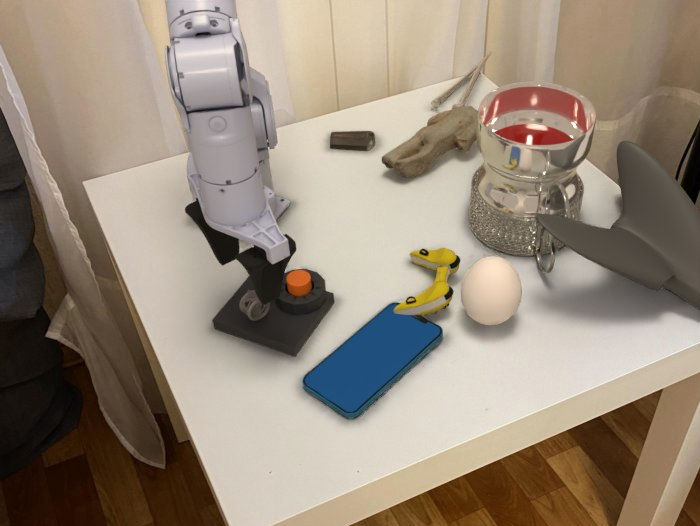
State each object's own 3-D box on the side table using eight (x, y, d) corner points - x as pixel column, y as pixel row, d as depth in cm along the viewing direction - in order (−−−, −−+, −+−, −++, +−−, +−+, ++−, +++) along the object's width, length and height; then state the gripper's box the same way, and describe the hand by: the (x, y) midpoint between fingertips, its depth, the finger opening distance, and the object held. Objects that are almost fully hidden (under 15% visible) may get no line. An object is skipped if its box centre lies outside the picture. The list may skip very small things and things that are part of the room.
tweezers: (428, 98, 117) (429, 111, 119) (460, 105, 116) (460, 119, 117) (476, 39, 127) (476, 52, 128) (506, 45, 125) (505, 58, 127)
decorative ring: (250, 325, 90) (246, 305, 87) (240, 316, 91) (236, 295, 88) (272, 313, 91) (268, 293, 88) (262, 304, 92) (258, 283, 89)
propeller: (757, 307, 100) (816, 255, 95) (698, 379, 81) (767, 318, 76) (615, 178, 104) (664, 120, 99) (528, 217, 85) (582, 148, 80)
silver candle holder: (528, 175, 108) (542, 68, 97) (630, 250, 98) (658, 141, 87) (447, 212, 103) (452, 104, 92) (545, 295, 94) (564, 185, 83)
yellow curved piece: (370, 306, 97) (417, 339, 90) (359, 283, 95) (406, 315, 88) (437, 256, 99) (488, 285, 92) (427, 232, 97) (479, 260, 90)
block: (332, 141, 115) (330, 128, 114) (376, 138, 115) (374, 125, 114) (330, 153, 113) (328, 140, 112) (374, 150, 112) (373, 137, 111)
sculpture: (413, 199, 107) (494, 143, 112) (410, 168, 103) (494, 111, 109) (375, 177, 110) (456, 124, 116) (371, 146, 107) (454, 93, 112)
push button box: (214, 329, 91) (209, 309, 89) (260, 273, 97) (256, 253, 95) (295, 356, 89) (292, 336, 86) (337, 297, 94) (335, 277, 92)
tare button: (283, 292, 91) (281, 281, 90) (295, 277, 93) (293, 267, 91) (304, 299, 90) (303, 288, 89) (316, 284, 92) (314, 273, 91)
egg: (447, 320, 91) (450, 264, 85) (482, 289, 94) (487, 233, 88) (495, 347, 89) (501, 292, 83) (529, 314, 92) (538, 259, 86)
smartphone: (297, 381, 85) (394, 299, 92) (298, 387, 86) (394, 305, 93) (351, 417, 82) (447, 330, 89) (352, 423, 83) (447, 336, 90)
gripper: (311, 185, 74) (322, 298, 85) (222, 116, 82) (243, 228, 92) (243, 218, 71) (264, 331, 82) (157, 144, 79) (186, 256, 89)
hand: (249, 279), depth 87 cm, fingers open, 7 cm apart
